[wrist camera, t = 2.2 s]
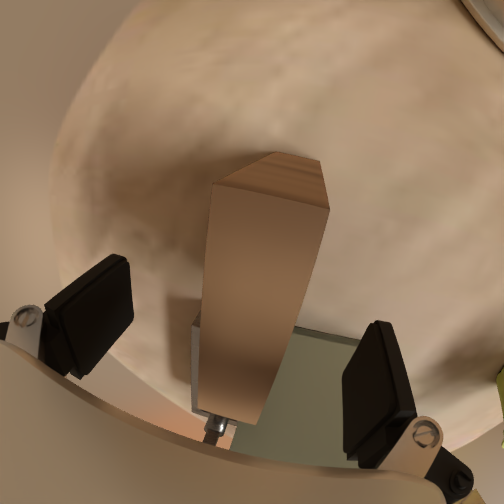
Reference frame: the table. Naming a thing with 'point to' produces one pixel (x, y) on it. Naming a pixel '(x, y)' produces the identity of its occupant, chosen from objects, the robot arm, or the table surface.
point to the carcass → (303, 405)
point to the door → (256, 278)
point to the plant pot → (501, 392)
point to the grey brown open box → (215, 422)
